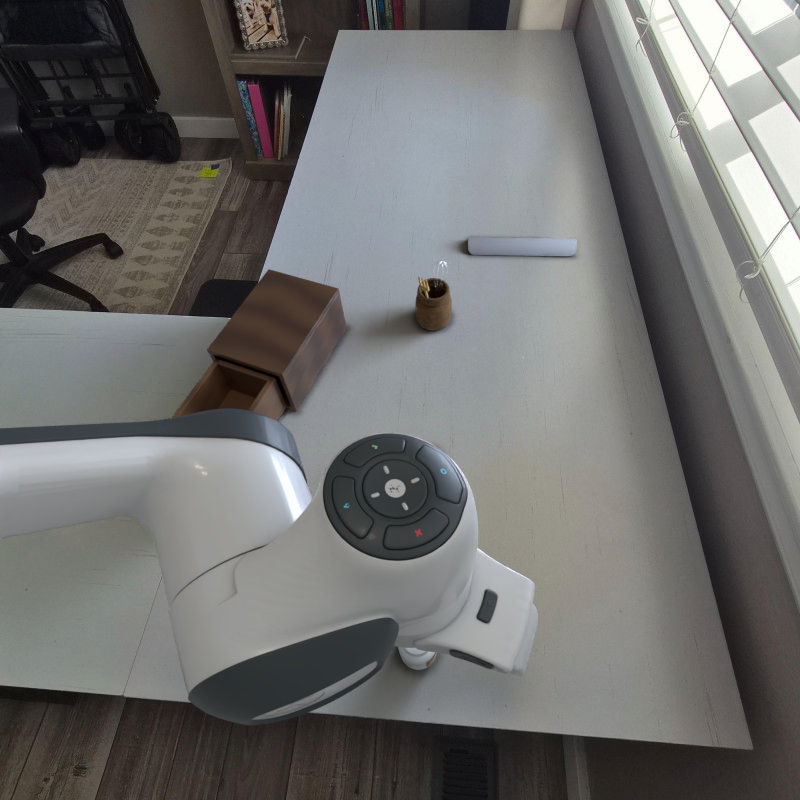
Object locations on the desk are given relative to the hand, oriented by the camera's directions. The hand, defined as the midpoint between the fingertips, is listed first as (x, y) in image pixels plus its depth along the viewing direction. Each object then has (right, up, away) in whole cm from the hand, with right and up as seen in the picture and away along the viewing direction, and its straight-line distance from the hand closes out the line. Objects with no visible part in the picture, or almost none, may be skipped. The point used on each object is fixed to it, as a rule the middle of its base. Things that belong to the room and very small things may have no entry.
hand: (415, 619), depth 51 cm
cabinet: (-20, +27, +38) cm, 51 cm away
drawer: (-27, +13, +28) cm, 41 cm away
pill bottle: (+1, -9, +13) cm, 16 cm away
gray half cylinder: (+21, +48, +50) cm, 72 cm away
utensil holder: (+4, +34, +41) cm, 54 cm away
